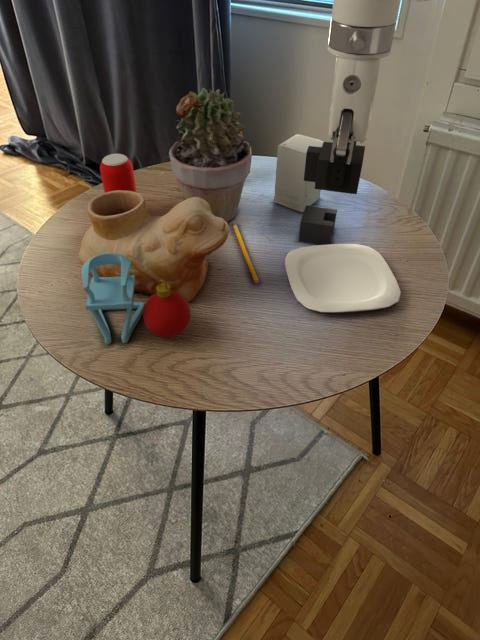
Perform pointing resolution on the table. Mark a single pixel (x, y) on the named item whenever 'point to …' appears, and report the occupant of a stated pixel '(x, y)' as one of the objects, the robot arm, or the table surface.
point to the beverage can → (117, 173)
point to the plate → (341, 278)
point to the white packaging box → (295, 174)
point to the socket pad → (317, 225)
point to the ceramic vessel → (154, 241)
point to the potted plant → (211, 152)
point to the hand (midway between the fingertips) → (339, 175)
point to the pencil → (245, 253)
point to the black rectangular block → (319, 163)
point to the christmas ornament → (166, 312)
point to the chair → (111, 293)
